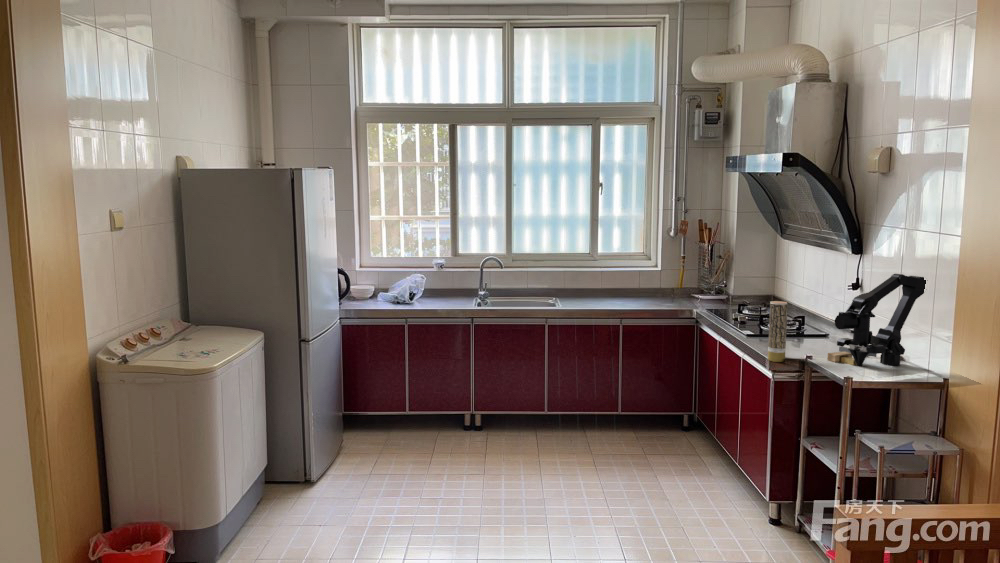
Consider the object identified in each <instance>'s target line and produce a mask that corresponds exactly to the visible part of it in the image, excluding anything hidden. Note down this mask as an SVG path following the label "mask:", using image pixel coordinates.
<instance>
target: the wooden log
mask: <svg viewBox="0 0 1000 563" xmlns="http://www.w3.org/2000/svg"><path fill="white" fill-rule="evenodd" d="M769 302H770V303H769V320H768V321H769V323H768V344H767V345H768V346H767V360H768V361H769V362H774V363H784V362H785V359H786V350H787V348H786V346H787V327H788V302H787V301H782V300H781V301H780V300H773V301H772V300H771V301H769Z"/></svg>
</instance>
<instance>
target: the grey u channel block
mask: <svg viewBox="0 0 1000 563" xmlns="http://www.w3.org/2000/svg"><path fill="white" fill-rule="evenodd" d="M848 349H850V347H846V346H843V347H842V346H838V352H848V353H851V352H850V350H848ZM866 357H874V358H877V354H873V353H869V354H868V355H867V356H866Z"/></svg>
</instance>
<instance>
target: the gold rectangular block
mask: <svg viewBox="0 0 1000 563" xmlns="http://www.w3.org/2000/svg"><path fill="white" fill-rule="evenodd" d="M838 363H842V364H847V365H850V366H857V364H856V362H855V360H854V357H852V358H851V357H847V356H839V362H838Z"/></svg>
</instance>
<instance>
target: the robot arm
mask: <svg viewBox="0 0 1000 563" xmlns="http://www.w3.org/2000/svg"><path fill="white" fill-rule="evenodd" d="M924 277H925V276H918V275H905V274H902V273H893V274H891V275H890V277H888V278H887V279H885V281H883V282H882V283H880V284H878V285H877V286H876V287H874V288H873V289H872V290H870V291H867V292H865V293H861V294H859V295H857V296H855V297H854V298H853V299H852V302H851V303H850V304H849V305H848V307H847V309H846V310H845V311H839V312H838V315H836V317H835V319H834V325H835V328H836V329H838V330H850V334H852V338H849V337H845V338H838V340H837V341H836V347H837V346H838V347H845V346H849V348H850V349H848V350H850V352H851V354H852V358H854V360H855V362H856V364H857V365H856V366H857V367H863V365H864V362H865V360H866V358H867V357H868V356H867V355H868V354H869V353H873V354H878V355H879V354H880V358H879V363H880V364H882V365H884V366H889V367H891V366H892V367H900V364H901V356H903V355H904V354H905V351H906V349H905V347H904V346H903V345H902V344H901V341H902V335H901V333H902V332H901V331H902V329H903V327H904V325H905V323H906V321H907V319H908V316H909V315H910V312H911V310H912V308H913V307H914V304H915V303H916V300H917V299H919V298H920V297H921V296H923V295H924V294H925V292H924V289H925V284H926V280H924ZM900 286H902V287H901V290H902V295H901V297H900V300H899V301H898V304H897V306H896V308H895V310H894V312H893V314H892V316H891V318H890V320H889V322H888V324H887V326H886V327H885V328H883V327H882V328H881V327H880V328H879V329H878V331H877V334H875V335H873V331H872V330H871V318H876V315H875V314H874V313H873V312H872V311H873V310H874V309H875V308H876V307H877V306H878V304H879V302H880V301H881V300H882V299H883V298H885V297H886V296H887V295H889V294H891V293H892V292H893V291H895V290H896V289H898V288H899V287H900ZM870 330H871V331H870Z"/></svg>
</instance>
